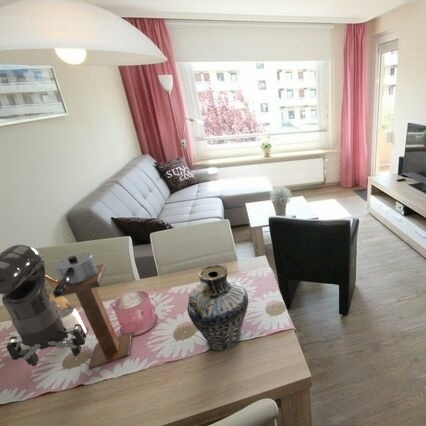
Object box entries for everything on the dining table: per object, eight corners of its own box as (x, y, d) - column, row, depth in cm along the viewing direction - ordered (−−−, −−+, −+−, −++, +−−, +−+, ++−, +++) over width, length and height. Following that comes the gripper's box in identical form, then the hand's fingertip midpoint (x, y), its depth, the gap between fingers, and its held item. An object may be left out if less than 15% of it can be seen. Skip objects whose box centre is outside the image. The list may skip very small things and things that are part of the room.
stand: (91, 370, 97) (52, 292, 84) (98, 346, 106) (63, 273, 93) (129, 357, 101) (97, 281, 88) (132, 335, 110) (104, 263, 98)
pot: (42, 313, 76) (30, 291, 73) (67, 273, 93) (58, 254, 90) (84, 302, 79) (74, 281, 76) (100, 265, 96) (93, 247, 94)
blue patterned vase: (217, 317, 117) (201, 252, 105) (262, 323, 113) (251, 256, 101) (185, 361, 98) (162, 288, 87) (238, 369, 94) (221, 295, 83)
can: (83, 328, 115) (72, 304, 110) (90, 335, 111) (78, 310, 107) (63, 339, 110) (50, 314, 105) (69, 346, 107) (56, 321, 102)
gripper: (-12, 341, 64) (16, 380, 72) (71, 324, 70) (87, 362, 78) (2, 313, 69) (26, 352, 78) (77, 300, 75) (92, 338, 84)
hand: (57, 357), depth 78 cm, fingers open, 8 cm apart
